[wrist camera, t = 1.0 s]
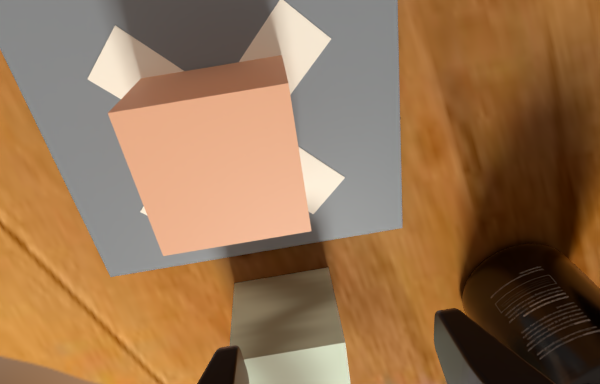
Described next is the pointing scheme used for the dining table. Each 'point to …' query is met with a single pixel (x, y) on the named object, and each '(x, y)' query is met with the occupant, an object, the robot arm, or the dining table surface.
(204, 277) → the dining table surface
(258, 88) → the terracotta block
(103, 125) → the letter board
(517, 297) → the supplement bottle
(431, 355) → the dining table surface
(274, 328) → the sage cube
